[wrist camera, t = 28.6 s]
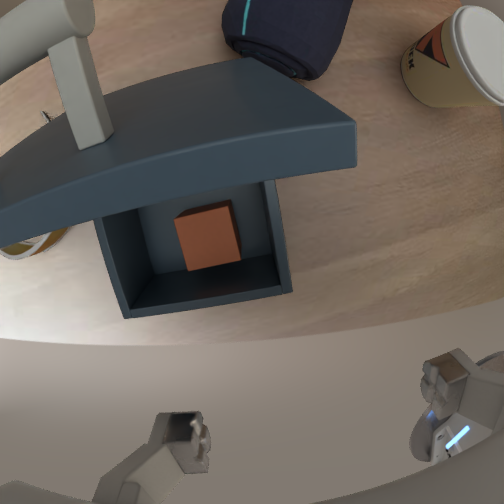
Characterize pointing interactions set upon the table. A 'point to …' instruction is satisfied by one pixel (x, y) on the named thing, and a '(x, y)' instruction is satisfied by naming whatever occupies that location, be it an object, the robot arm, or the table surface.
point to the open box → (173, 263)
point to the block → (208, 235)
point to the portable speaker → (287, 33)
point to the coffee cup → (458, 61)
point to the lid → (150, 129)
